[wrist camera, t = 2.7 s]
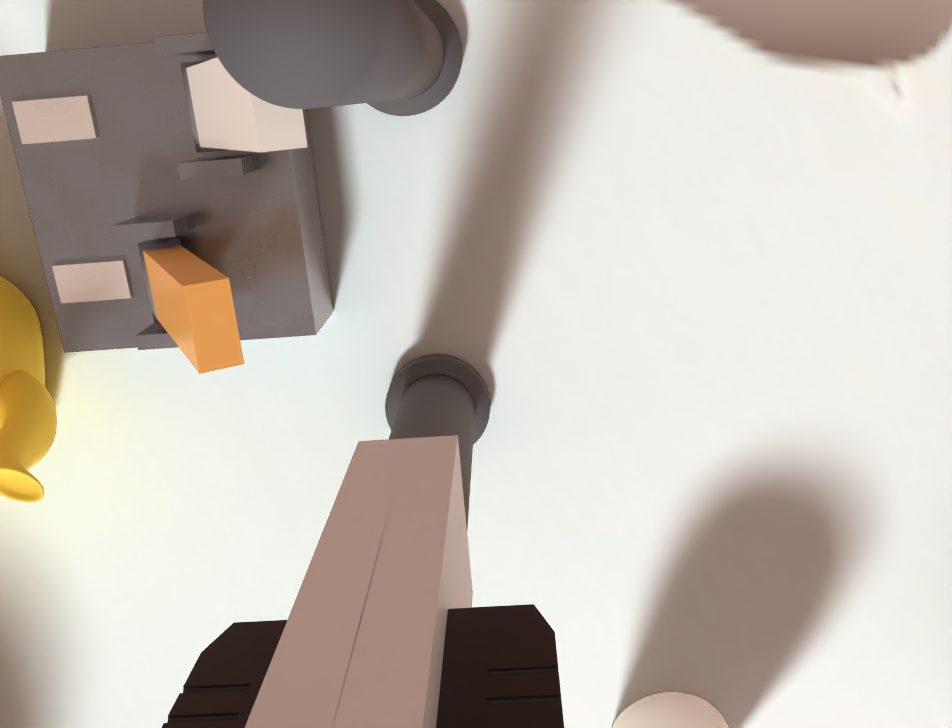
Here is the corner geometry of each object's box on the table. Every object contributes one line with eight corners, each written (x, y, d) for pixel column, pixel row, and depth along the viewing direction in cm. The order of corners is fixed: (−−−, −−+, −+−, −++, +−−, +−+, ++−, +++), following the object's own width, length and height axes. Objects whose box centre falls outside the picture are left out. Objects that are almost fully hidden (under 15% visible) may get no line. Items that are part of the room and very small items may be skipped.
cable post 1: (353, 120, 36) (193, 154, 17) (337, -5, 34) (143, -119, 15) (466, 110, 36) (433, 135, 17) (456, -15, 34) (408, -145, 15)
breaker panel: (106, 327, 39) (37, 368, 33) (44, 60, 36) (-45, 54, 30) (333, 310, 39) (304, 350, 33) (295, 38, 35) (255, 28, 29)
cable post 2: (393, 453, 41) (305, 766, 22) (381, 358, 39) (276, 607, 20) (493, 446, 41) (491, 757, 22) (485, 350, 39) (476, 596, 20)
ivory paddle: (192, 151, 32) (257, 159, 24) (176, 64, 31) (239, 40, 23) (233, 147, 33) (311, 153, 24) (219, 62, 32) (295, 37, 23)
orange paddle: (151, 318, 34) (197, 380, 26) (135, 242, 33) (177, 280, 25) (190, 311, 35) (248, 368, 26) (176, 236, 34) (231, 271, 25)
